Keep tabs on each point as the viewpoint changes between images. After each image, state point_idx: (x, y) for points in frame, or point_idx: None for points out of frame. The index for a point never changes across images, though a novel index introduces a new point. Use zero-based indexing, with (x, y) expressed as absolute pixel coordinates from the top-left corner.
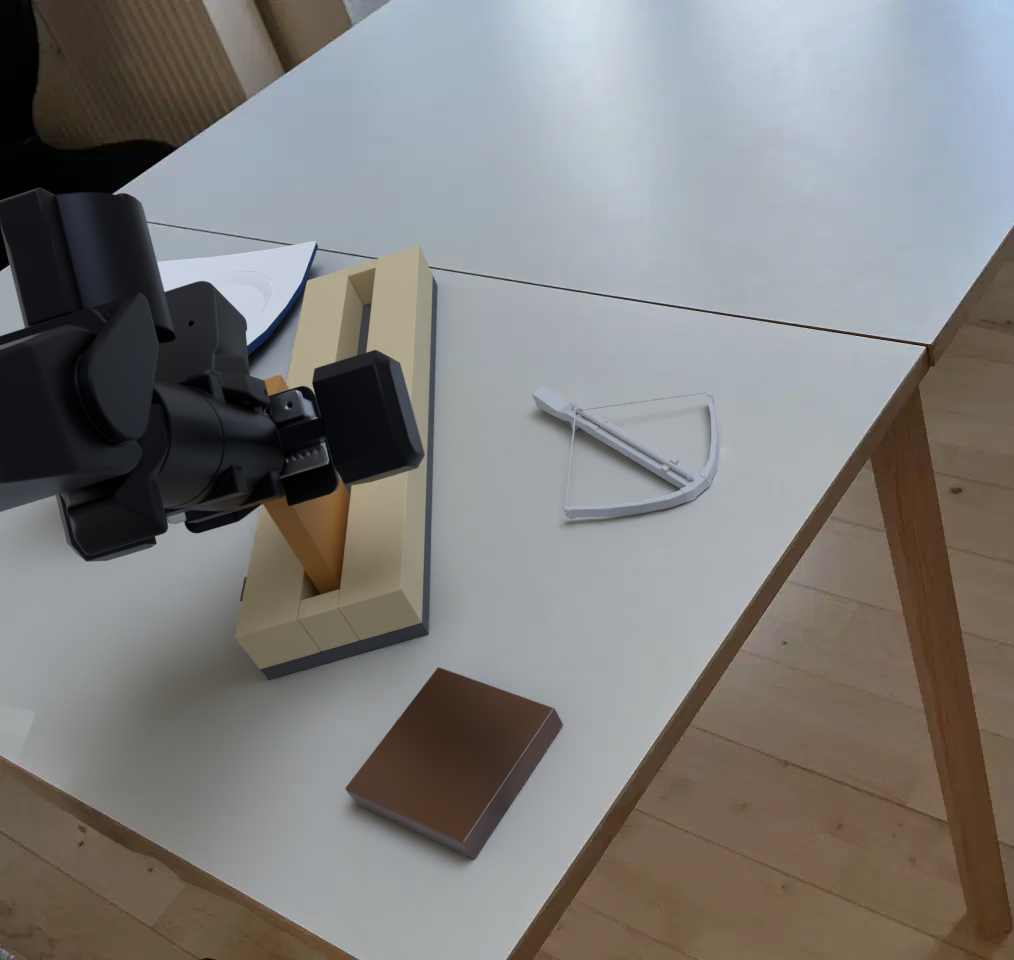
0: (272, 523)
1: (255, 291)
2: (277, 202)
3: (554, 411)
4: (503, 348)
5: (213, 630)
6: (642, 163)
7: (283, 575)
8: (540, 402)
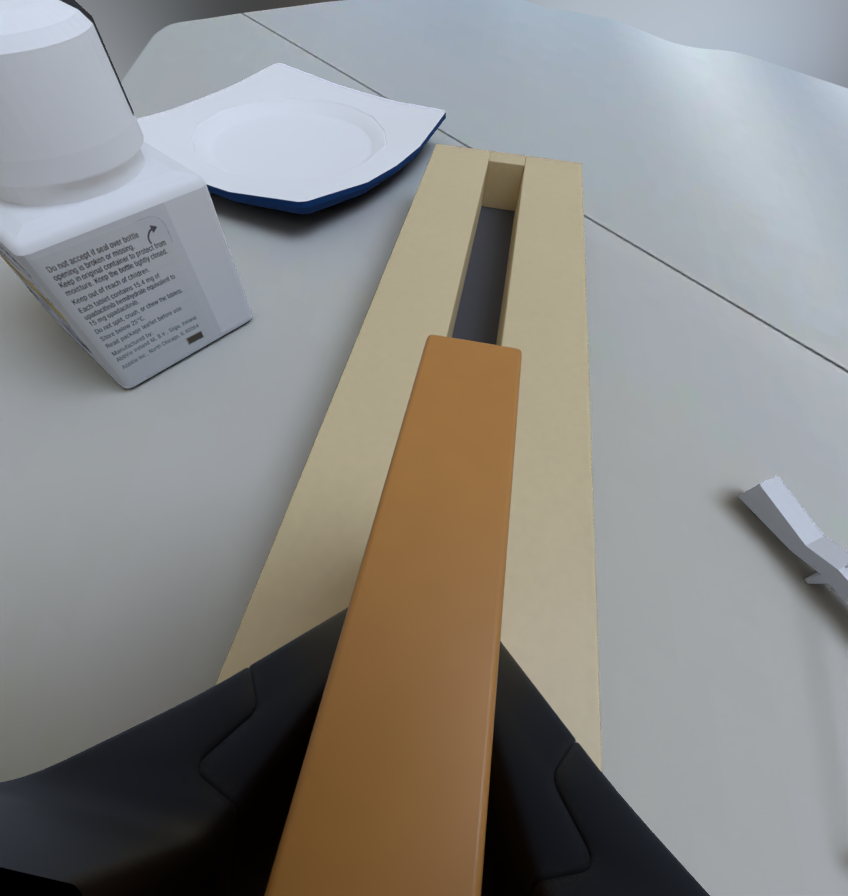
0: (288, 598)
1: (364, 137)
2: (404, 70)
3: (791, 536)
4: (656, 350)
5: (116, 703)
6: (795, 190)
7: None
8: (764, 503)
